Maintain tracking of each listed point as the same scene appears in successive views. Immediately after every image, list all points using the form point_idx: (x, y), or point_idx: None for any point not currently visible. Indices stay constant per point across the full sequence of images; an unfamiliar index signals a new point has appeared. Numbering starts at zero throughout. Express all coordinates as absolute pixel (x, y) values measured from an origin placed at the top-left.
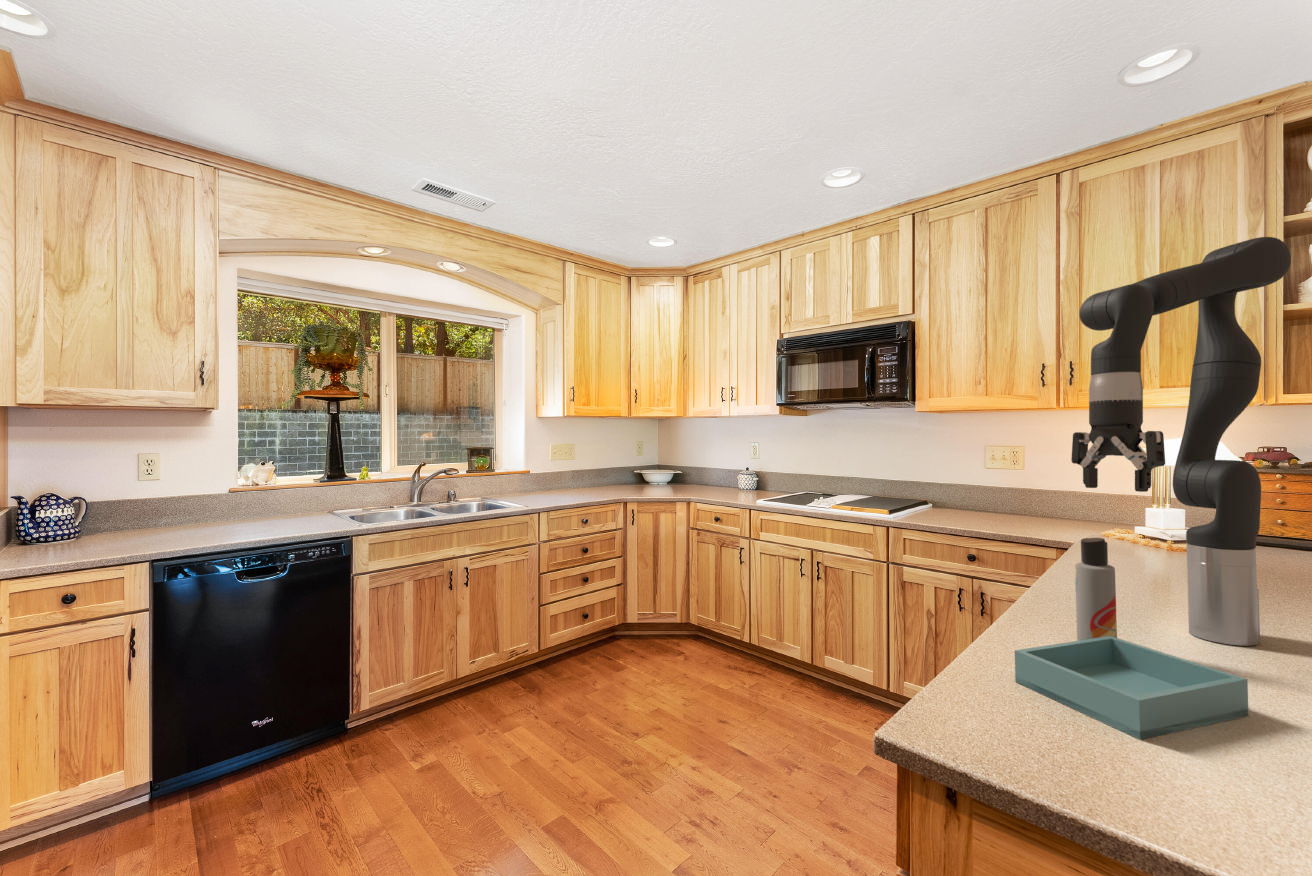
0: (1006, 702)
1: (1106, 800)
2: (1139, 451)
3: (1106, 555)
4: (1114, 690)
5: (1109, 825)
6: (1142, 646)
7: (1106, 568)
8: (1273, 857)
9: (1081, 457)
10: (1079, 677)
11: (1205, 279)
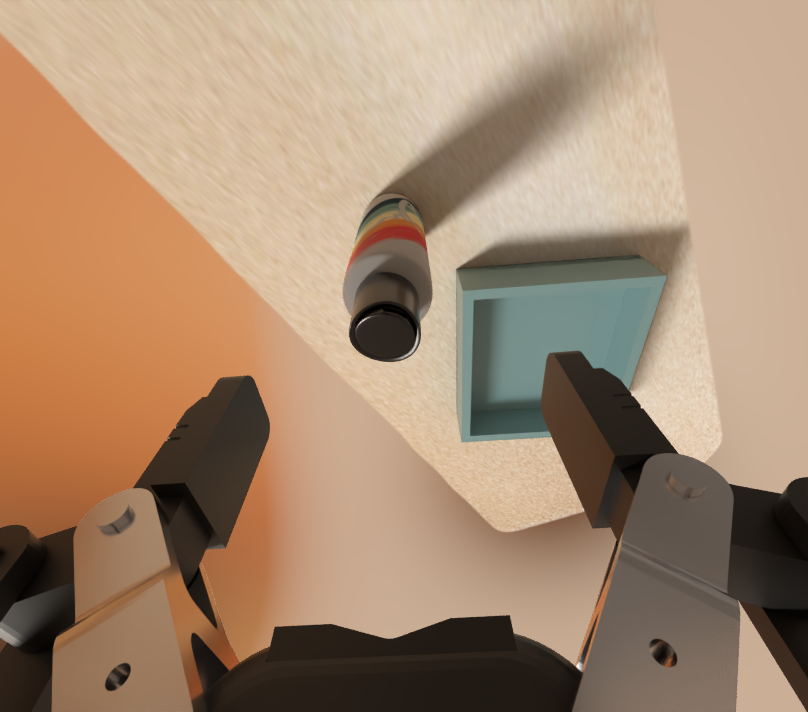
0: (491, 447)
1: None
2: (680, 682)
3: (418, 305)
4: None
5: None
6: (519, 288)
7: (427, 301)
8: (710, 448)
9: (11, 626)
10: (548, 436)
11: None
